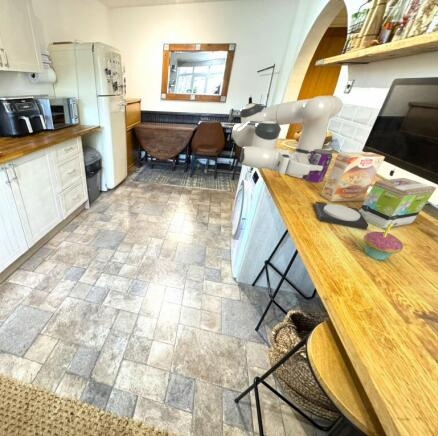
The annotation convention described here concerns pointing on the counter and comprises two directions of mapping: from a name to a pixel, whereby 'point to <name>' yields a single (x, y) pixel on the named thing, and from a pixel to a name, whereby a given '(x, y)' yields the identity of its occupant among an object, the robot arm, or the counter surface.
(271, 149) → the robot arm
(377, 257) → the cupcake
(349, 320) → the counter surface
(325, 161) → the beverage can
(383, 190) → the tea box
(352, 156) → the coffeecake box
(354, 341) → the counter surface
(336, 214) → the scale
